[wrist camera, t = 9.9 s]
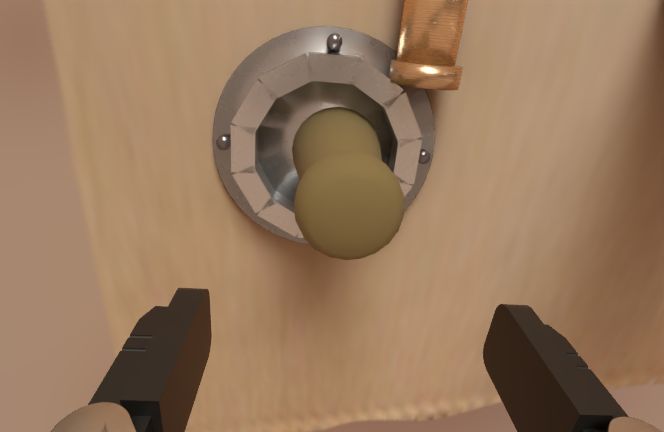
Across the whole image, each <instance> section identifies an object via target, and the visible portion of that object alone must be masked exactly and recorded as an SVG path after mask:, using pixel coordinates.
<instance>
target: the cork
mask: <svg viewBox="0 0 664 432" xmlns="http://www.w3.org/2000/svg"><path fill="white" fill-rule="evenodd" d="M292 154H293V162H294V165H295V168H296V171H297V174H298V177H299V180H300V182H299V183H298V185H297V190H296V194H295V199H294V213H295V221H296V223H297V225H298V227H299V229H300V231H301V233H302V235H303V237H304V238H305V240H306V241H307V242H308V243H309V244H310V245H311V246H312V247H313V248H314V249H315V250H317V251H319V252H321V253H323V254H325V255H327V256H329V257H334V258H339V259H344V260H349V259H360V258H364V257H366V256H369V255H372V254H374V253H376V252H377V251H379V250H380V249H382V248H383V247H384V246H386V245H387V244H388V243H389V242H390V241H391V240H392V238H393V237H394V236H395V234H396V233H397V232H398V230H399V227H400V225H401V222H402V219H403V216H404V195H403V192H402V189H401V186H400V183H399V180H398V179H397V177H396V176H395V175H394V173H393V172H392V171H391V170H390V169H389V167H388V166H387V165H386V164H385V163H384V162H382V156H381V148H380V141H379V138H378V135H377V133H376V130H375V128H374V127H373V125H372V124H371V123H370V122H369V120H368V119H367V118H366V117H365V116H363V115H361V114H360V113H358V112H357V111H355V110H352V109H348V108H344V107H331V108H325V109H322V110H320V111H318V112H315V113H313V114H312V115H310V116H309V117H308V118H307V119H306V120H305V121H304V122H303V123H302V124H301V125H300V127H299V129H298V131H297V132H296V134H295V136H294V141H293V146H292Z"/></svg>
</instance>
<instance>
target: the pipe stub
mask: <svg viewBox="0 0 664 432" xmlns="http://www.w3.org/2000/svg"><path fill="white" fill-rule="evenodd" d="M467 3H468V0H405V1H404V8H403V15H402V22H401V29H400V36H399V43H398V50H397V57H396V60H391V66H390V73H389V79H390V82H391V83H394V84H398V85H403V86H409V87H416V88H424V89H435V90H458V88H459V83H460V79H461V74H462V69H463V67H460V66H455V62H456V57H457V53H458V48H459V43H460V38H461V33H462V28H463V23H464V18H465V13H466V8H467Z"/></svg>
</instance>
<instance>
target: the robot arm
mask: <svg viewBox="0 0 664 432" xmlns="http://www.w3.org/2000/svg"><path fill="white" fill-rule="evenodd" d="M210 347H211V316H210V297H209V291H208V289H193V288H178V289H177V291H176V293H175V295H174V297H173V298H172V300H171V302H170V304H169V306H168V307H162V306H155V307H154V308H153V309H151V310H150V311H149V312H148V313H146V314H145V315H144V316H143V317H141V318H140V319H139V321H138V322H137V324H136V326H135V327H134V329H133V331H132V332H131V334H130V338H128V339H127V341H126V342H125V344H124V346H123V347H122V351H120V352H119V354H118V356H117V357H116V359H115V361H114V362H113V364H112V366H111V367H110V369H109V371H108V372H107V374H106V376H105V377H104V379H103V381H102V382H101V384H100V386H99V388H98V389H97V391H96V393H95V394H94V396H93V398H92V399H91V401H90V402H89V404H88V405H87V406H84V407H81V408H79V409H77V410H75V411H73V412H72V413H70V414H69V415H67V416H66V417H64V418H63V419H62V420H61V421H59V422H58V423H57V424H56V425H55V426H54V428H53V429H52V430H51V432H185V429H186V426H187V422H188V419H189V416H190V413H191V410H192V407H193V404H194V401H195V398H196V394H197V391H198V388H199V385H200V382H201V379H202V376H203V373H204V369H205V366H206V363H207V360H208V357H209V352H210ZM483 358H484V364H485V367H486V370H487V372H488V374H489V376H490V378H491V380H492V382H493V384H494V386H495V388H496V390H497V392H498V394H499V396H500V398H501V400H502V402H503V404H504V406H505V408H506V410H507V412H508V414H509V416H510V418H511V420H512V422H513V424H514V426H515V428H516V430H517V432H662V431H661V430H659V429H657V428H656V427H654V426H652V425H650V424H648V423H646V422H644V421H641V420H638V419H635V418H631V417H628V415H627V414H626V413H625V412H624V411H623V409H622V408H621V407H620V405H619V404H618V403H617V402H616V400H615V399H614V398H613V397H612V395H611V394H610V393H609V392H608V390H607V389H606V388H605V387H604V385H603V384H602V383H601V382H600V381H599V379H598V378H597V377H596V376H595V374H594V373H593V372H592V371H591V370H590V369H588V366H587V364H586V363H585V362H584V361H583V359H582V358H581V357H580V356H578V353H577V352H576V351H575V349H574V348H573V347H572V346H571V344H570V343H569V342H568V341H567V339H566V338H565V337H563V336H562V335H561V334H559V333H558V332H557V331H555V330H554V329H553V328H552V327H550V326H549V325H544V324H543V322H542V321H541V320H540V319H539V317H538V316H537V315H536V313H535V312H534V311H533V309H532V308H531V307H529V306H527V305H507V304H500V305H499V306H498V307H497V308H496V310H495V313H494V316H493V319H492V322H491V325H490V329H489V332H488V335H487V338H486V341H485V344H484V349H483Z"/></svg>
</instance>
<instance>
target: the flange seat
mask: <svg viewBox="0 0 664 432" xmlns="http://www.w3.org/2000/svg"><path fill="white" fill-rule="evenodd" d="M396 57H397V53H396V52H395V51H394V50H392V49H391V48H390V47H388V46H387V45H385V44H384V43H382V42H381V41H379V40H377V39H375V38H373V37H371V36H369V35H366V34H363V33H360V32H357V31H354V30H351V29H345V28H339V27H322V26H319V27H310V28H302V29H299V30H295V31H291V32H288V33H285V34H283V35H280V36H278V37H276V38H274V39H271V40H270V41H268V42H267V43H265V44H263V45H262V46H260V47H259V48H257V49H256V50H255V51H254V52H252V53H251V54H250V55H249V56H248V57H247V58H246V59H245V60H244V61H243V62H242V63H241V64H240V65H239V66H238V67H237V69H236V70H235V71H234V73H233V74H232V76H231V77H230V79H229V80H228V82H227V83H226V85H225V87H224V90H223V92H222V94H221V96H220V99H219V102H218V105H217V108H216V111H215V117H214V123H213V149H214V156H215V161H216V165H217V169H218V171H219V174H220V176H221V179H222V182H223V183H224V185H225V187H226V189H227V191H228V193H229V194H230V196H231V197H232V198H233V200H234V201H235V203H236V204H237V205H238V206H239V207H240V209H241V210H242V211H243V212H244V213H245V214H246V215H247V216H248V217H250V218H251V219H252V220H253V221H254V222H256V223H257V224H258V225H260V226H261V227H263V228H264V229H266V230H268V231H270V232H272V233H274V234H276V235H278V236H280V237H283V238H285V239H288V240H291V241H295V242H300V243H304V244H309V243H308V242H307V241H306V240H305V238H304V237H303V235H302V233H301V231H300V229H299V227H298V225H297V223H296V221H295V213H294V199H295V194H296V190H297V185H298V183H299V182H300V180H299V177H298V174H297V171H296V168H295V165H294V162H293V154H292V146H293V141H294V136H295V134H296V132H297V131H298V129H299V127H300V125H301V124H302V123H303V122H304V121H305V120H306V119H307V118H308V117H309V116H310V115H312V114H313V113H315V112H318V111H320V110H322V109H325V108H331V107H344V108H348V109H352V110H355V111H357V112H358V113H360V114H361V115H363V116H365V117H366V118H367V119H368V120H369V122H370V123H371V124H372V125H373V127H374V128H375V130H376V133H377V135H378V138H379V141H380V148H381V156H382V162H384V163H385V164H386V165H387V166H388V167H389V169H390V170H391V171H392V172H393V173H394V175H395V176H396V177H397V179H398V180H399V183H400V186H401V189H402V192H403V195H404V210H405V209H406V208H407V207H408V206H409V205H410V203H411V202H412V201H413V199H414V198H415V197H416V195H417V194H418V192H419V190H420V189H421V187H422V185H423V183H424V181H425V179H426V176H427V174H428V171H429V168H430V165H431V161H432V157H433V151H434V143H435V127H434V120H433V113H432V109H431V106H430V102H429V99H428V96H427V94H426V92H425V89H424V88H416V87H409V86H403V85H398V84H394V83H391V82H390V79H389V73H390V66H391V60H396Z"/></svg>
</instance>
